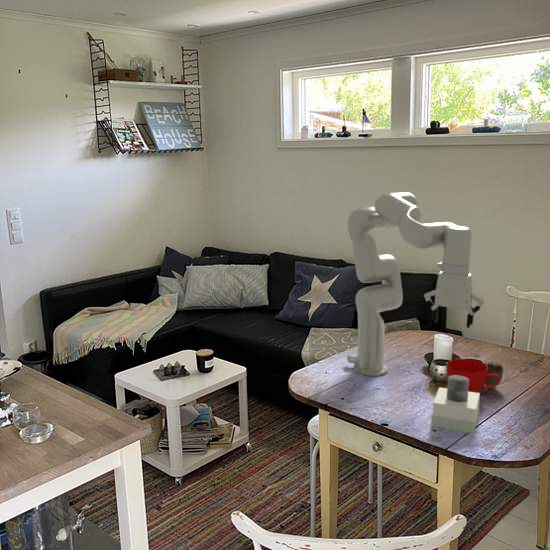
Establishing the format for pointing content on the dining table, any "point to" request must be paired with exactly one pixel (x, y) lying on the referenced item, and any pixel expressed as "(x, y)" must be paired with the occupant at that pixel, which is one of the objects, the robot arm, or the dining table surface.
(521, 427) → the dining table surface
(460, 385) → the slate drum
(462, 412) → the tower top block
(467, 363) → the ceramic cup
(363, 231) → the robot arm
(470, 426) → the tower base block
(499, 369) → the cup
